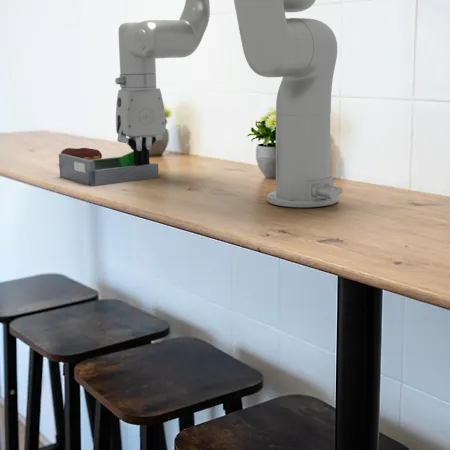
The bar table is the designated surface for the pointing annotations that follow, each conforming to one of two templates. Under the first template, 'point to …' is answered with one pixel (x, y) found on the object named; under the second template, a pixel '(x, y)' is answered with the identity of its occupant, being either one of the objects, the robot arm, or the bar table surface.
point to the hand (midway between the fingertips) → (141, 167)
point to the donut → (83, 153)
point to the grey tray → (103, 170)
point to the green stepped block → (128, 160)
